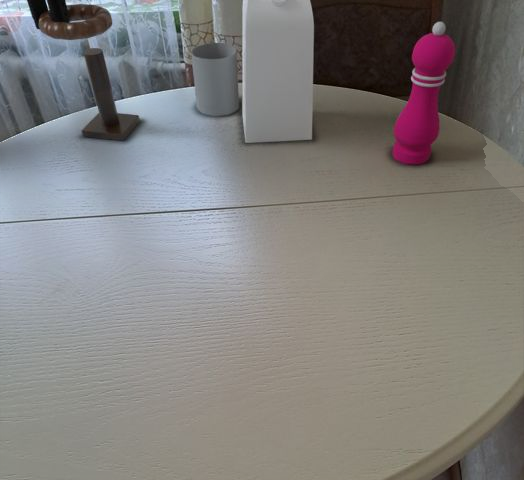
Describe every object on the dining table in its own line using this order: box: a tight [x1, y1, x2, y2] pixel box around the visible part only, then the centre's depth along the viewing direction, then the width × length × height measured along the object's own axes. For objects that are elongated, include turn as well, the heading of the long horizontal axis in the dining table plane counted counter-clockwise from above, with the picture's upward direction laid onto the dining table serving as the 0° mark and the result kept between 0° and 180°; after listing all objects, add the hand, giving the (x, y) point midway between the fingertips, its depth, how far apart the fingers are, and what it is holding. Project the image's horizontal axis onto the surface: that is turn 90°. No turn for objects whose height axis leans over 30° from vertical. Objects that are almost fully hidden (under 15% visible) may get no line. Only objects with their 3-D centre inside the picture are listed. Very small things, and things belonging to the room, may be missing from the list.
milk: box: [241, 0, 315, 144], centre depth 84 cm, size 12×12×26 cm
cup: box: [190, 42, 240, 117], centre depth 96 cm, size 8×8×10 cm
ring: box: [39, 3, 113, 41], centre depth 71 cm, size 10×10×2 cm
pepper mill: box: [391, 21, 456, 166], centre depth 78 cm, size 7×7×20 cm
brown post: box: [81, 47, 141, 142], centre depth 89 cm, size 8×8×13 cm
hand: (53, 25), depth 72 cm, fingers closed on ring, 2 cm apart
